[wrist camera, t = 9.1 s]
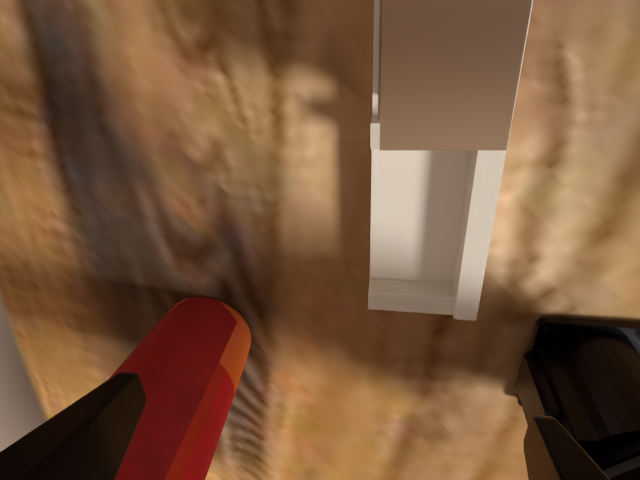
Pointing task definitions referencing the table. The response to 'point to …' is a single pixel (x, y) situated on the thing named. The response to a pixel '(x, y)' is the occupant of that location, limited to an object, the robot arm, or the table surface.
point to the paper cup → (185, 389)
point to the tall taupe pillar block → (449, 72)
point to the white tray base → (429, 221)
